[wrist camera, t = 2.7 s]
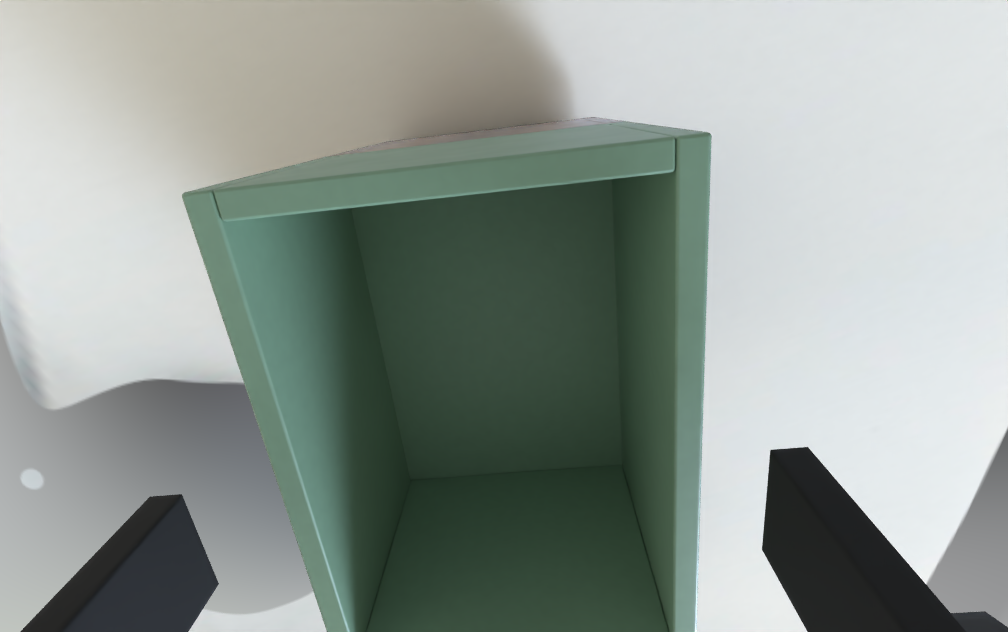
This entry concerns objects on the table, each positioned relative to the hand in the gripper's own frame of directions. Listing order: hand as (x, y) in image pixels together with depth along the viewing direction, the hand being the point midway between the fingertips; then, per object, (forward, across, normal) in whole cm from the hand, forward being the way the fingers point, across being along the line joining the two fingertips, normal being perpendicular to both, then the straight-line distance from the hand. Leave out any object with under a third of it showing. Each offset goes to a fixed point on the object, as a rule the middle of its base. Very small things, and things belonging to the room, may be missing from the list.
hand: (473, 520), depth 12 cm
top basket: (+12, 0, 0) cm, 12 cm away
